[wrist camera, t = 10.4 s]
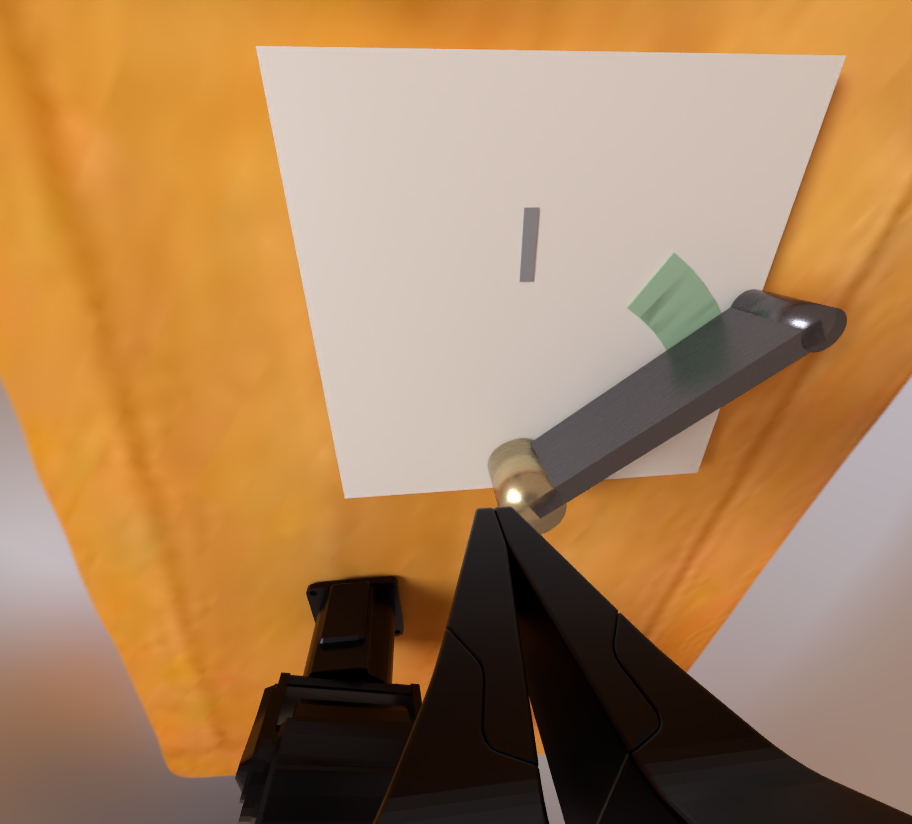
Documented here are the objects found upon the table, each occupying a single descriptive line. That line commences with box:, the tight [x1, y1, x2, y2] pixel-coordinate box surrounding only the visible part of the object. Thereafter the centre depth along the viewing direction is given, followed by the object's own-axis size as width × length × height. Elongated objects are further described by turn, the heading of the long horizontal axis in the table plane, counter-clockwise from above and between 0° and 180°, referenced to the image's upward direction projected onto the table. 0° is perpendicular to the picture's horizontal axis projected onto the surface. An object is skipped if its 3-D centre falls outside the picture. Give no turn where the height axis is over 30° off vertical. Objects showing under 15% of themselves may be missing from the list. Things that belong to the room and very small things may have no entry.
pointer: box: [488, 289, 847, 534], centre depth 19 cm, size 16×3×4 cm, turn 128°
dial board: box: [256, 46, 846, 498], centre depth 19 cm, size 20×22×2 cm
